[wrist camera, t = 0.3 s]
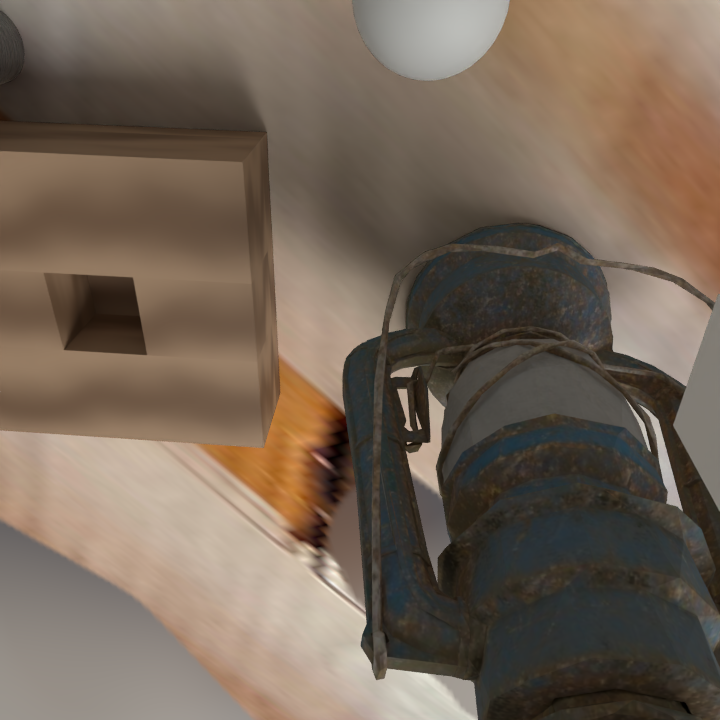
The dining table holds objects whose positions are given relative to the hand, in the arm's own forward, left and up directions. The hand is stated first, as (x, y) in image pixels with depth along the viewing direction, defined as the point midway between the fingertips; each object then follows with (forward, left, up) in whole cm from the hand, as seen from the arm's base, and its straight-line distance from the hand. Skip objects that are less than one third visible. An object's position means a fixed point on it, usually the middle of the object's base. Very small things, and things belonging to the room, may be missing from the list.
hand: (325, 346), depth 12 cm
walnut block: (+12, -16, -27) cm, 33 cm away
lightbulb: (-5, +2, -27) cm, 28 cm away
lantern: (+13, +8, -27) cm, 31 cm away
